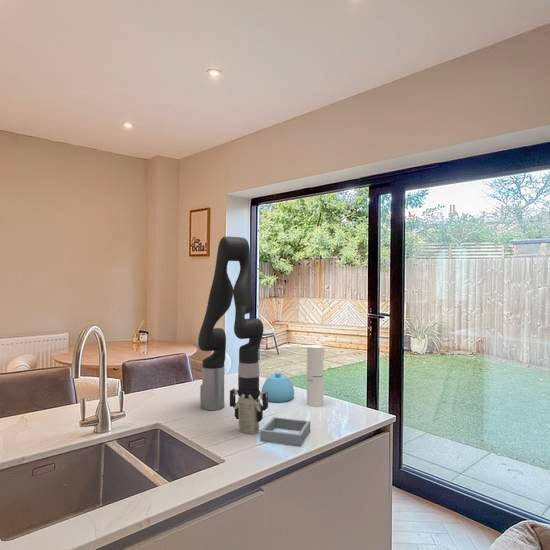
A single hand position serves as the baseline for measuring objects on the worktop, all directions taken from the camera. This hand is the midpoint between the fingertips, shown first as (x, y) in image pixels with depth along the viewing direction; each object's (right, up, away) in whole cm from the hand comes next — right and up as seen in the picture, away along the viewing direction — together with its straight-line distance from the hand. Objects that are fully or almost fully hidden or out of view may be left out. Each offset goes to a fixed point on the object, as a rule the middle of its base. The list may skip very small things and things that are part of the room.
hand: (248, 419), depth 148 cm
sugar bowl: (+11, -4, +40) cm, 41 cm away
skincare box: (0, -4, 0) cm, 4 cm away
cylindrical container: (+27, -4, +31) cm, 41 cm away
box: (+13, -4, -4) cm, 15 cm away
